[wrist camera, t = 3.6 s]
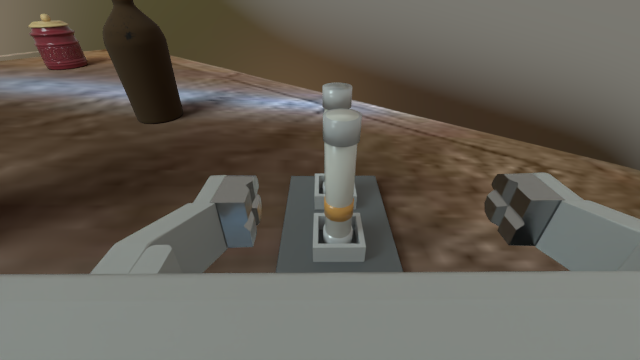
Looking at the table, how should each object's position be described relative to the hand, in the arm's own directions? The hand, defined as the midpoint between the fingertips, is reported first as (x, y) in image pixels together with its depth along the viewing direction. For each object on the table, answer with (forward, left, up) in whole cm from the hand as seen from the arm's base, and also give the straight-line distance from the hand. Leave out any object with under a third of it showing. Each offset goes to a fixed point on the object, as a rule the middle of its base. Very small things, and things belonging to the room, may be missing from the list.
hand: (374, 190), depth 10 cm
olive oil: (-38, +53, -17) cm, 68 cm away
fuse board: (0, +17, -17) cm, 24 cm away
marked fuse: (0, +13, -16) cm, 21 cm away
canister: (-100, +107, -17) cm, 148 cm away
